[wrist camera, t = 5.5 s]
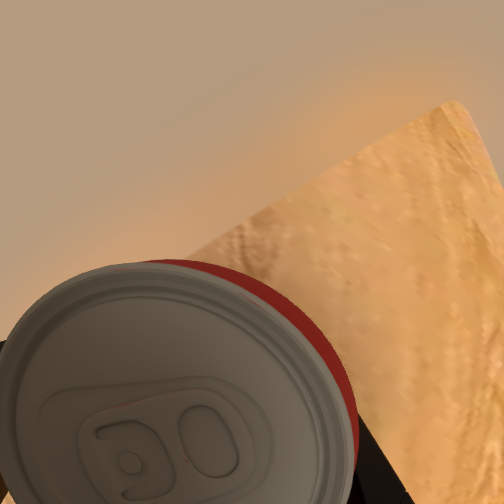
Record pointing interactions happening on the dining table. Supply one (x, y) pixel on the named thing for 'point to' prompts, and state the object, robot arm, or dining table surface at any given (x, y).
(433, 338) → the dining table surface
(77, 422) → the beverage can
